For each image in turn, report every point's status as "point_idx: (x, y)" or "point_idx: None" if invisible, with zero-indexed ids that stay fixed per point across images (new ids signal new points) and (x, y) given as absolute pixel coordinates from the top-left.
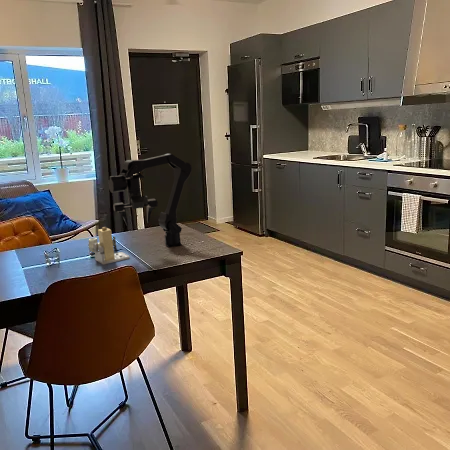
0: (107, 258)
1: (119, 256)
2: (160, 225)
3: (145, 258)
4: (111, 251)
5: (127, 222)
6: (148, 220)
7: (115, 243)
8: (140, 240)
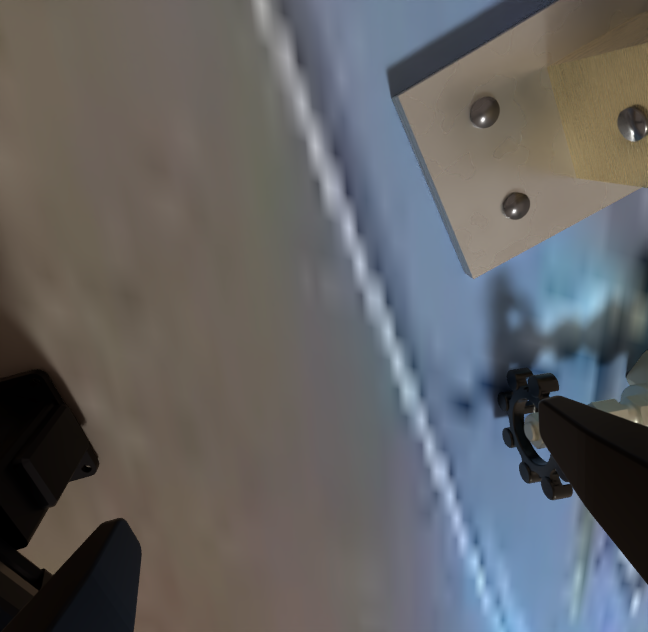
0: (628, 23)
1: (498, 107)
2: (19, 606)
3: (221, 28)
4: (629, 37)
5: (590, 429)
6: (80, 560)
7: (532, 424)
8: (326, 580)
